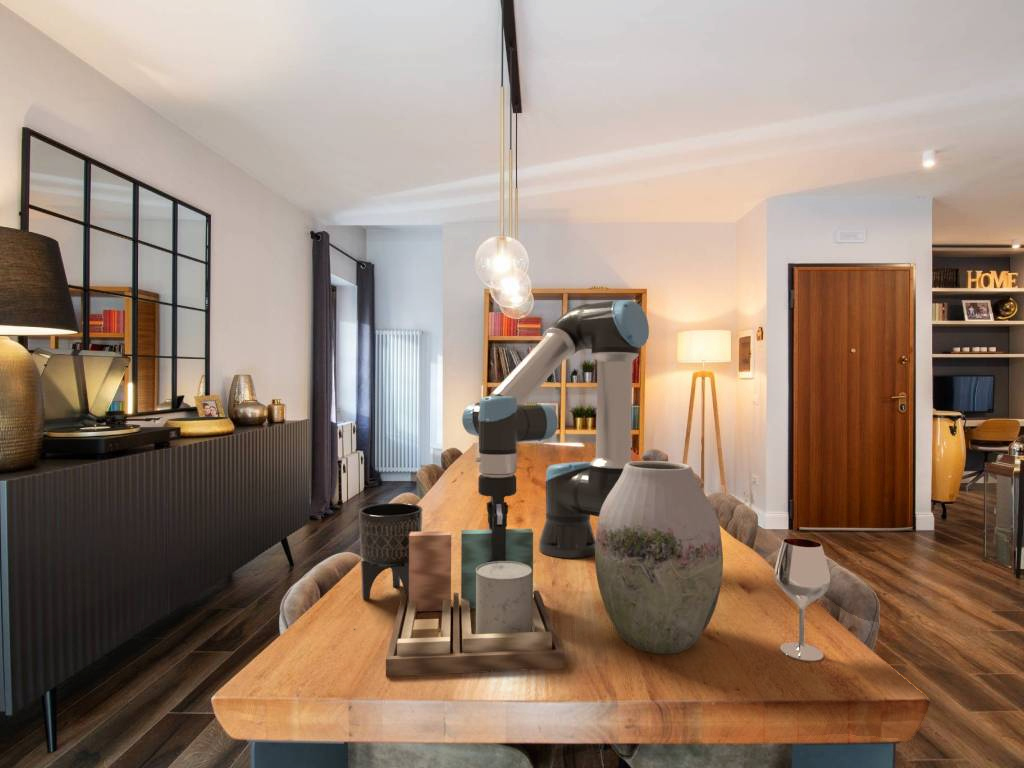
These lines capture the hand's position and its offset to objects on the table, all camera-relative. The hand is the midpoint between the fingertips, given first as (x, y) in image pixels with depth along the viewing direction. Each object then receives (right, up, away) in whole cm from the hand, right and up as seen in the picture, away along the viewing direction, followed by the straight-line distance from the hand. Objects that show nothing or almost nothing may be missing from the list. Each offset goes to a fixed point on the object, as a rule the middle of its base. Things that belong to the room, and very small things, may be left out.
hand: (496, 592), depth 114 cm
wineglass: (+51, -3, -19) cm, 54 cm away
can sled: (+1, -3, -11) cm, 12 cm away
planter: (-22, -3, +6) cm, 23 cm away
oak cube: (-11, -3, -18) cm, 22 cm away
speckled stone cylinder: (+2, -3, -16) cm, 16 cm away
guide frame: (-4, -3, -13) cm, 13 cm away
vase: (+28, -3, -14) cm, 32 cm away
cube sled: (-12, -2, -13) cm, 18 cm away
